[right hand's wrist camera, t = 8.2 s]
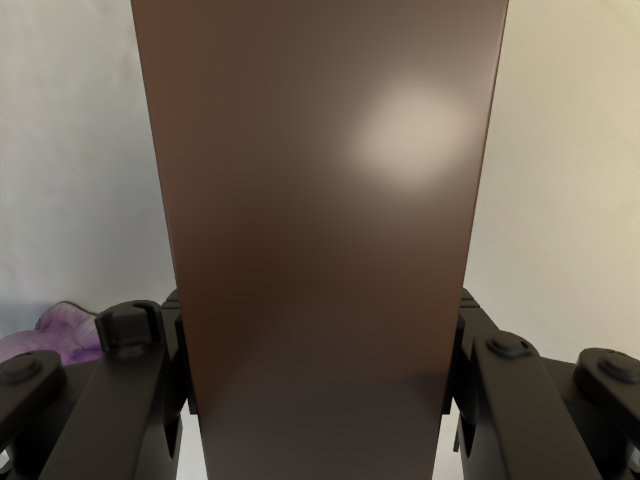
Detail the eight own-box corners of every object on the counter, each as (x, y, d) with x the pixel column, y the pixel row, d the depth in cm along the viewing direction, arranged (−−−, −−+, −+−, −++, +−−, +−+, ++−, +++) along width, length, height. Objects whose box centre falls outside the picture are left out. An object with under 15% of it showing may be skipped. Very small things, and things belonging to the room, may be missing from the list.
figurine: (20, 289, 29) (-266, 460, 15) (145, 313, 30) (-14, 497, 16) (27, 377, 32) (-203, 587, 18) (139, 397, 33) (4, 612, 19)
